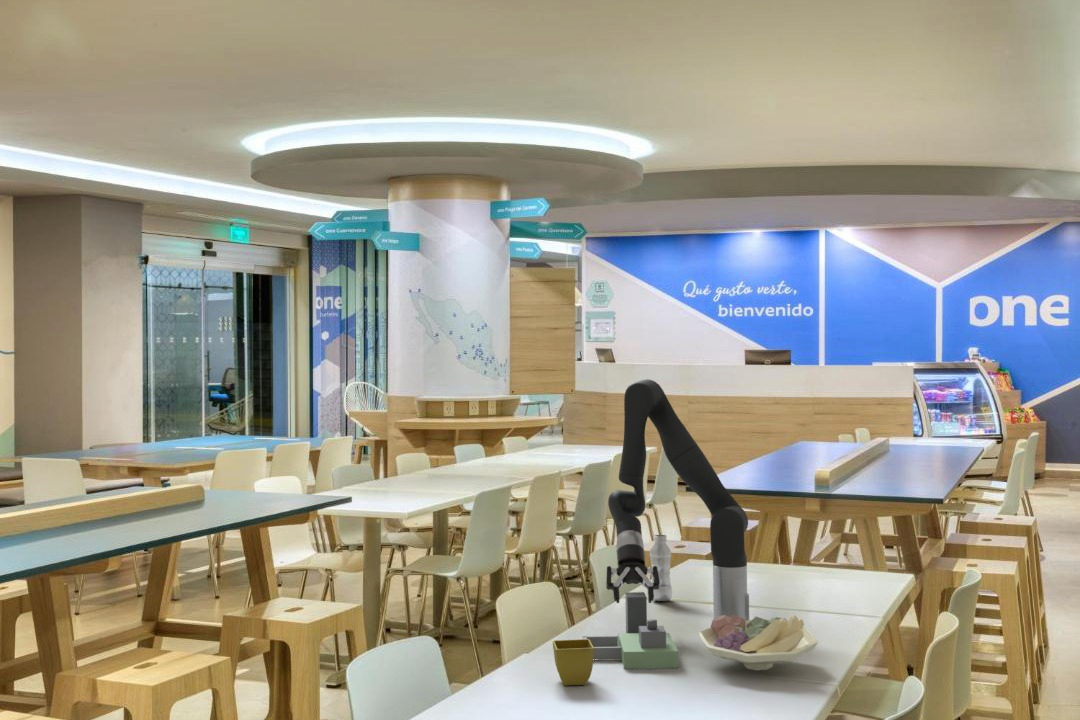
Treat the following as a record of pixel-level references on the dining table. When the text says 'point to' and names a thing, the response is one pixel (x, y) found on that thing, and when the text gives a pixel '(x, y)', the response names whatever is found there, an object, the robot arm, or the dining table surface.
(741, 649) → the dish with food
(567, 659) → the flower pot
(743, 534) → the robot arm
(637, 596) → the tall grey cuboid
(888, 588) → the dining table surface
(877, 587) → the dining table surface
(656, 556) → the plastic bottle
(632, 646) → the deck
